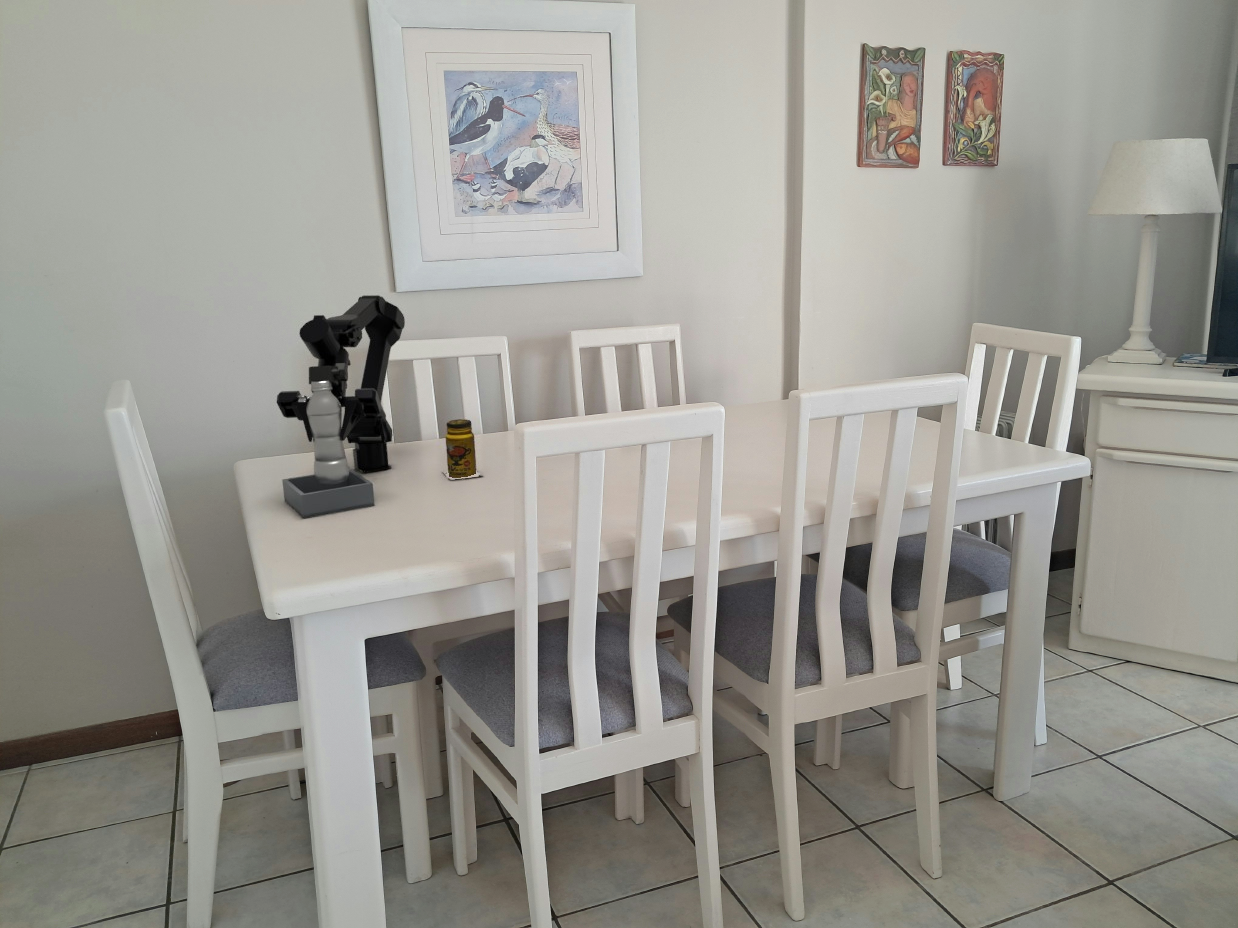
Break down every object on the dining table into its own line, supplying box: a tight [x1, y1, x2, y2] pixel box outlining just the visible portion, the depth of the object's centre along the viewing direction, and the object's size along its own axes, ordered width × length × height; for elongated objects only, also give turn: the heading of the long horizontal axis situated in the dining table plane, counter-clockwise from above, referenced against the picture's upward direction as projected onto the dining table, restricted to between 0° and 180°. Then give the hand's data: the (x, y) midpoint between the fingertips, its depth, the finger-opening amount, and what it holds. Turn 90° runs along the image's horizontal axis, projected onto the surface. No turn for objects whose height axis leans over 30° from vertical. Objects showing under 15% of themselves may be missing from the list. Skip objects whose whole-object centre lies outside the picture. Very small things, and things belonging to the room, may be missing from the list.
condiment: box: [445, 418, 477, 478], centre depth 199 cm, size 7×8×12 cm
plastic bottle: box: [306, 381, 351, 484], centre depth 177 cm, size 6×7×20 cm
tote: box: [281, 468, 376, 519], centre depth 181 cm, size 14×14×4 cm
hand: (326, 440), depth 177 cm, fingers closed on plastic bottle, 6 cm apart
